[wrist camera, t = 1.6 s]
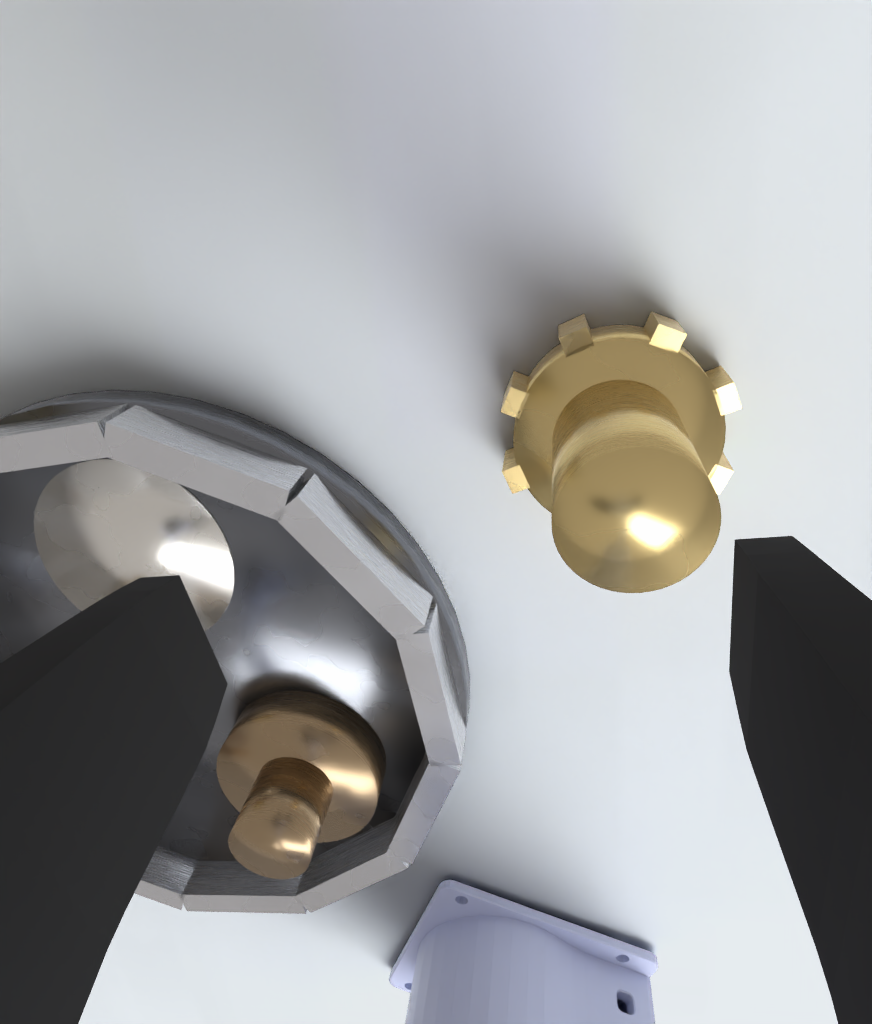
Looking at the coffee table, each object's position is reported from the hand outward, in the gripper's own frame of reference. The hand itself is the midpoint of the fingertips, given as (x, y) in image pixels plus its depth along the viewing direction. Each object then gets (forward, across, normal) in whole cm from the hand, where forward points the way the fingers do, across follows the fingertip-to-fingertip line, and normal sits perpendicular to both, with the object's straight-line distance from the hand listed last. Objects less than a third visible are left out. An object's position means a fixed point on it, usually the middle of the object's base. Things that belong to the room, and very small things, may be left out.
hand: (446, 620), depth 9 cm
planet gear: (+11, -3, +2) cm, 11 cm away
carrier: (+10, +13, +10) cm, 19 cm away
